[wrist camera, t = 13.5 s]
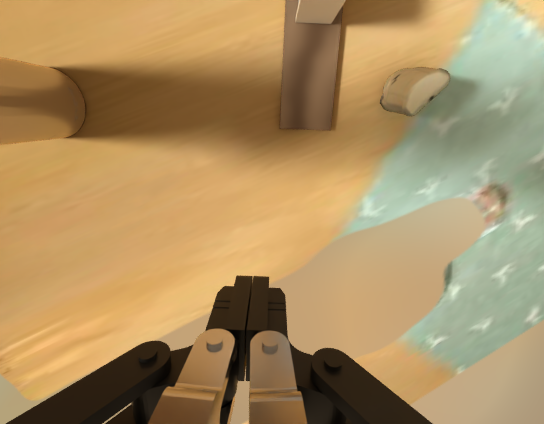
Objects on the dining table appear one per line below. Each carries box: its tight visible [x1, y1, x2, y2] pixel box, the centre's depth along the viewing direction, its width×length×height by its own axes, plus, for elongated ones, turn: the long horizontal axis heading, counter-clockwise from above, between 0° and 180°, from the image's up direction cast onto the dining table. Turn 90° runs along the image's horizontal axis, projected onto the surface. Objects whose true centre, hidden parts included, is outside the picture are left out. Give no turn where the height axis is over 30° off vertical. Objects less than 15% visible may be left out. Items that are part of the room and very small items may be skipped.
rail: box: [280, 0, 343, 130], centre depth 35 cm, size 7×26×3 cm, turn 178°
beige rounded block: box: [380, 67, 450, 116], centre depth 36 cm, size 6×5×8 cm
